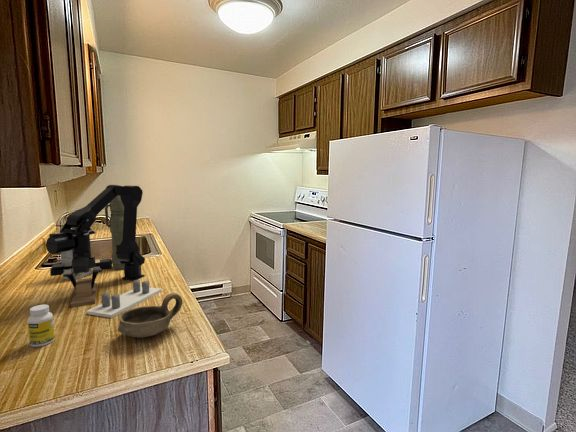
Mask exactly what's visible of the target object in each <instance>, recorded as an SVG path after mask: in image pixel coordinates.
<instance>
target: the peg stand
mask: <svg viewBox="0 0 576 432" xmlns="http://www.w3.org/2000/svg"><path fill="white" fill-rule="evenodd" d="M132 288H133V289H131V290H128V291H126V292H124V293H121V294H113V295H111V293H110V292H104V293H102V294H101V303H100V304H97V305H95V306H94V307H92V308H90V309H88V310H85V313H86V315H92V316H97V317H103V318H108V319H112V318H114V317H117V316H118V315H121V314H122V313H123V312H125V311H128V310H130V309H132V308H133V307H135V306H137V305H139V304H141V303H144V301H147V300H148V299H150V298H152V297H154V296H156V295H157V294H160V293H161V292H162V291H163V289H162V288H160V287H159V288H158V287H150V281H148V280H143V281H141V280H140V279H136V280H132Z"/></svg>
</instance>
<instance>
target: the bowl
mask: <svg viewBox="0 0 576 432" xmlns="http://www.w3.org/2000/svg"><path fill="white" fill-rule="evenodd" d="M171 300H175V305H174V306H173V308H172V309H171V310H169V307H168V306H169V303H170V301H171ZM182 306H183V299H182V296H181V295H180V294H178V293H177V292H171V293H168V294H167V295H166V296H165V297H164V298H163V299H162V304H161V305H150V306H149V305H147V306H139V307H134V308H133V307H132V308H129V309H128V310H126V311H124V312H122V313H120V314H119V317H118V320H119V326H118V328H117V331H118V332H119V333H121V334H123V335H125V336H128V337H132V338H133V337H134V338H147V337H152V336H155V335H158V334H160V333H162V332H163V331H164V330H166V329H167V328H168V327H169V325H170V322H171V321H172V319H173V318H174V317H175V316H176V315H177V314H178V313H179V311H180V310H181V309H182Z"/></svg>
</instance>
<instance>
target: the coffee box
mask: <svg viewBox="0 0 576 432" xmlns="http://www.w3.org/2000/svg"><path fill="white" fill-rule="evenodd" d="M60 259H61V260H60V263H61V264H62V263H65V264H66V266H69V265H72V259H73V256H72V250H70V251H66V252H61V253H60ZM92 271H93V268H90V271H89V272H87V273H84V272H83V273H78V274H75V277H76V281H77V280H78V279H83V278H84V277H87V276H90V275H92ZM62 279H63V280H69V278H68V277H63V276H62ZM69 281H70V280H69Z"/></svg>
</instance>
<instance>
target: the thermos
mask: <svg viewBox="0 0 576 432" xmlns="http://www.w3.org/2000/svg"><path fill="white" fill-rule="evenodd" d="M108 209H109V210H108ZM109 212H110V214H109ZM104 215H105V225H106V226H107V228H109V232H110V233H111V247H112V248H111V249H112V253H111V260H112V269H113V270H114V269H115V271H124V265H125V264H121V263H120V260H119V259H118V258H117V255H116V251H117V249H116V246H117V245H120V244H121V242H122V240H123V220H124V205H123V203H122V201H121V198H120V196H118V195H117V196H116V197H115V198H114V199H113V200H112V201H111V202H110V203H109V204H108V205H107V206H106V207H105V208H104ZM109 215H110V218H109Z"/></svg>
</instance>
